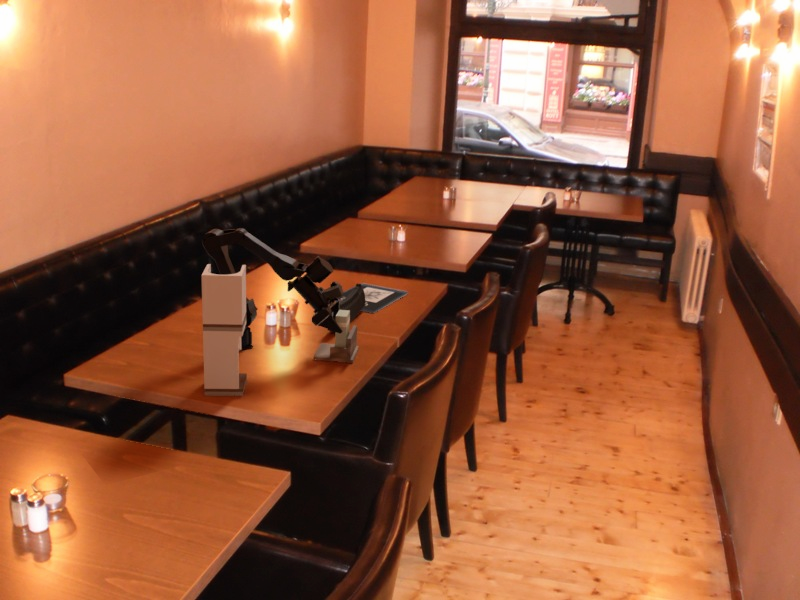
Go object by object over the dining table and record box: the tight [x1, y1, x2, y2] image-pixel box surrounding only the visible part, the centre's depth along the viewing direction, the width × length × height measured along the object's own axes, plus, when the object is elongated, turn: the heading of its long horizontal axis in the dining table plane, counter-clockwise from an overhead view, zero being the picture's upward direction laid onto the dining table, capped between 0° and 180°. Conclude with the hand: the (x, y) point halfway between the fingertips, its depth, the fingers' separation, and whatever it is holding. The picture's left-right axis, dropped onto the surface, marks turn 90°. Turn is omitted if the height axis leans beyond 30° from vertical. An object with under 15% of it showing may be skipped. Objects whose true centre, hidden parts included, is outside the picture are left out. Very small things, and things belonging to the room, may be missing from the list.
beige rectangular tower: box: [201, 263, 248, 397], centre depth 239 cm, size 11×11×35 cm
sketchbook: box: [336, 282, 409, 314], centre depth 332 cm, size 22×30×2 cm
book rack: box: [313, 324, 360, 364], centre depth 272 cm, size 12×13×8 cm
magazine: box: [327, 283, 365, 333], centre depth 303 cm, size 17×3×30 cm
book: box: [334, 310, 351, 348], centre depth 271 cm, size 4×6×13 cm, turn 174°
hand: (343, 327), depth 271 cm, fingers open, 9 cm apart
